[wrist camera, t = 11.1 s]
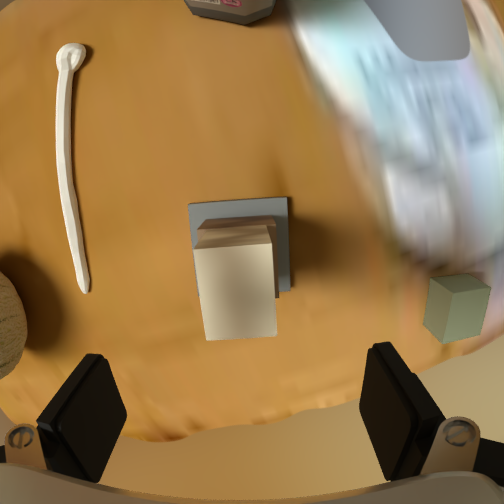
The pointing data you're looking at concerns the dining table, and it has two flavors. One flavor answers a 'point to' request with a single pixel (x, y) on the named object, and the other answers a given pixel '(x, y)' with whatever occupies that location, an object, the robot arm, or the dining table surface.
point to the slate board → (248, 208)
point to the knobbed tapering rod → (69, 156)
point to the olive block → (456, 307)
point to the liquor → (232, 9)
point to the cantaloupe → (11, 327)
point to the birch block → (236, 283)
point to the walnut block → (244, 222)
